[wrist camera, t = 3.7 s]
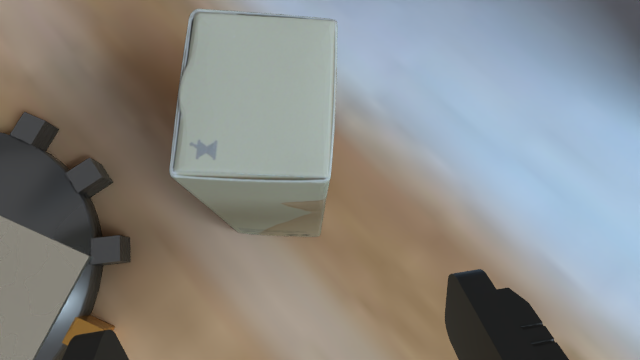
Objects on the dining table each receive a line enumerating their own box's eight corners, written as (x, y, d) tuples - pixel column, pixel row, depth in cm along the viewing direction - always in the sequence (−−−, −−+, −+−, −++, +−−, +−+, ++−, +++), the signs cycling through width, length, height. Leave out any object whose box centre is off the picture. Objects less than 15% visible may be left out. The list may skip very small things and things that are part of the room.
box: (320, 238, 22) (332, 195, 11) (234, 234, 22) (160, 186, 11) (325, 138, 23) (340, 11, 12) (244, 134, 23) (186, 2, 12)
